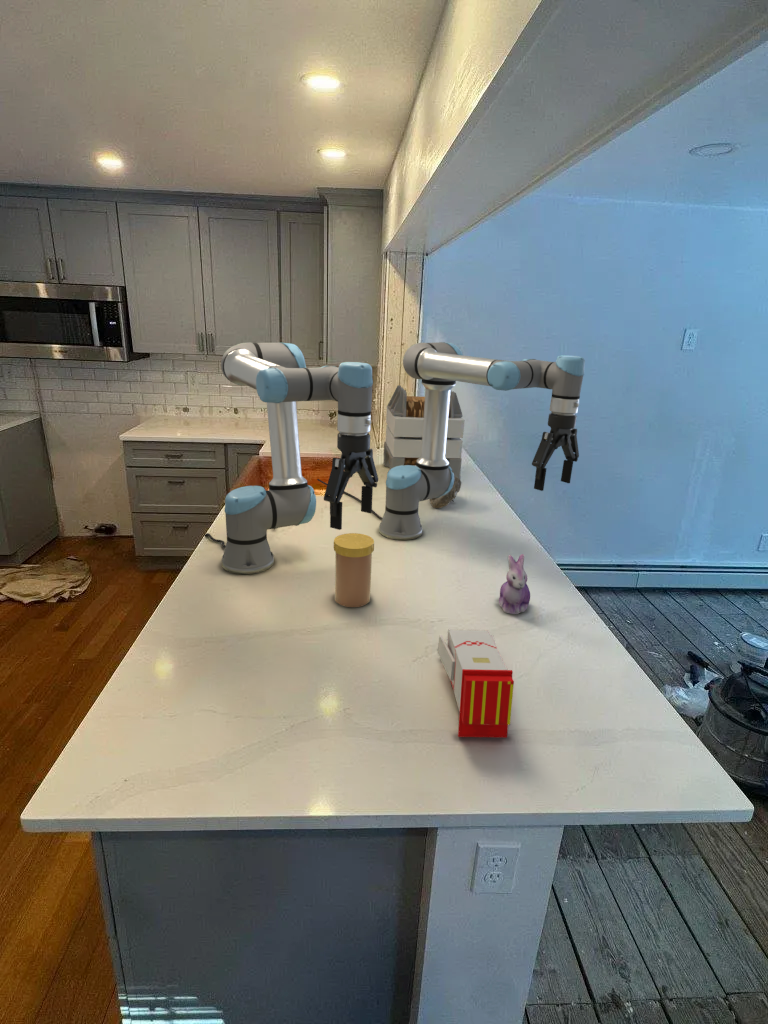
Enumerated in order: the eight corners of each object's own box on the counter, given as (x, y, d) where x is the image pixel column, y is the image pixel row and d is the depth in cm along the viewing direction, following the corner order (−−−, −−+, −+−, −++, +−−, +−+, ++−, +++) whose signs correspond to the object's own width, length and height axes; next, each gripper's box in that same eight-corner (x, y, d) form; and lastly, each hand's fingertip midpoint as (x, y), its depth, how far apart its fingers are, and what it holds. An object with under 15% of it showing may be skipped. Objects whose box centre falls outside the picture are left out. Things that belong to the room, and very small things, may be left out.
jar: (340, 609, 149) (341, 551, 143) (331, 592, 157) (331, 537, 151) (374, 604, 152) (377, 547, 146) (364, 588, 160) (366, 533, 154)
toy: (488, 613, 130) (523, 677, 101) (484, 667, 133) (517, 744, 104) (435, 612, 130) (455, 676, 101) (432, 666, 133) (451, 743, 103)
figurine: (512, 619, 147) (519, 566, 142) (488, 601, 156) (494, 551, 151) (540, 611, 151) (548, 560, 146) (515, 594, 160) (522, 546, 155)
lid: (339, 559, 143) (339, 550, 142) (329, 543, 152) (329, 534, 152) (379, 555, 146) (379, 546, 146) (366, 539, 156) (367, 531, 155)
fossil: (425, 482, 245) (454, 464, 240) (438, 499, 248) (467, 481, 243) (424, 504, 225) (455, 484, 220) (438, 522, 228) (469, 503, 223)
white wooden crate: (382, 463, 289) (386, 382, 275) (445, 464, 293) (451, 384, 279) (390, 482, 257) (394, 392, 243) (460, 483, 261) (468, 394, 247)
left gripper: (337, 444, 117) (335, 539, 124) (394, 426, 138) (390, 508, 145) (307, 439, 120) (307, 532, 128) (368, 422, 141) (365, 503, 148)
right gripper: (548, 419, 148) (537, 496, 155) (598, 411, 163) (586, 482, 171) (525, 414, 153) (515, 489, 160) (575, 407, 169) (564, 476, 176)
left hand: (351, 519), depth 136 cm, fingers open, 13 cm apart
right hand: (552, 485), depth 166 cm, fingers open, 13 cm apart
